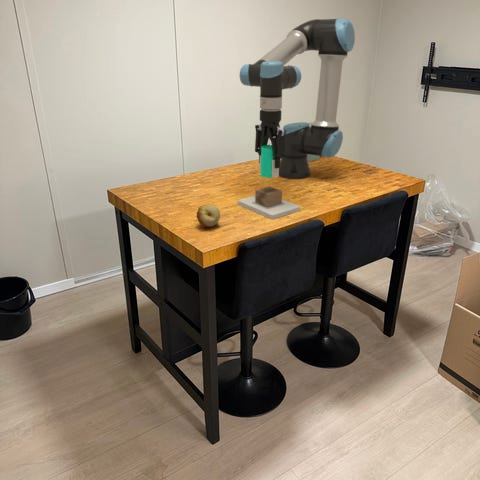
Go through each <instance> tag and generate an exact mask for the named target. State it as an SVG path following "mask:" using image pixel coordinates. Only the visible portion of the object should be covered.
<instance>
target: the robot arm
mask: <svg viewBox="0 0 480 480" xmlns="http://www.w3.org/2000/svg"><path fill="white" fill-rule="evenodd" d="M355 35H356V34H355V29H354V25H353V24H352V22H351V21H350V20H348V19H343V18H332V19H331V18H326V19H318V18H317V19H309V20H307V21H305V22H303V23H301V24H299V25H298V26H296V27H294V28H293V29H292V30H291V31H289V32H288V33H287V35H286V38H284V39H283V40H282V41H281V42H279V43H278V44H277V45H276V46H275V47H273V48H272V49H271V50H270V51H268V52H267V53H266V54H265V55H263V56H262V57H261V58H260V59H258V60H257V61H256V62H254V63H253V64H251V63H248V64H247V63H246V64H243V65H242V66H241V67H240V70H239V80H240V82H241V84H242V85H243V86H247V87H257V88H259V90H260V91H259V92H260V94H259V109H260V110H259V121H260V122H261V123H260V124H255V125H254V128H255V142H254V143H255V144H254V152H255V153H258V164H259V174H261V147H262V146H265V145H269V141H270V145H272V150H273V156H274V158H272V177H273V178H276V177H277V178H278V177H281V178H283V179H290V180H291V179H292V180H293V179H294V180H295V179H296V180H298V179H306V178H308V177H310V176H311V168H310V166H309V165H310V164H309V162H308V160H307V154H310V155H317V156H320V157H322V158H333V157H335V156H336V155H337V154H338V152H339V151H340V149H341V147H342V143H343V138H344V137H343V132H342V131H341V129H340V128H339V127H340V125H339V123H337V115H338V114H337V113H338V104H339V96H340V90H341V89H340V87H341V81H342V80H341V79H342V70H343V63H344V62H343V61H344V60H345V59H346V58H348V53H349V52H351V51H352V50H353V49H354V46H355V41H356V40H355V38H356V37H355ZM307 51H316V52H317V51H318V54H317V56H318V57H319V58H320V60H321V61H320V71H319V72H320V73H319V80H318V90H317V91H318V92H317V101H316V102H317V103H316V110H315V111H316V112H315V119H314V121H313V122H312V124H311V127H309V123H310V122H306V121H305V122H303V121H302V122H292V123H288V124H285V125H283V127H282V128H281V125H280V122H281V121H282V108H283V107H282V106H283V105H282V104H283V90H287V89H294V88H295V87H297V86H298V85H299V84H300V83H301V80H302V72H301V70H300V68H298V67H297V66H296V65H286V64H288V63H289V62H290V61H291V60H293V58H295V57H296V56H297V55H301V54H303V53H304V52H307ZM339 129H340V130H339Z"/></svg>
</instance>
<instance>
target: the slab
mask: <svg viewBox="0 0 480 480" xmlns="http://www.w3.org/2000/svg"><path fill="white" fill-rule="evenodd" d="M236 202H237V204H236V205H239V207H242V208H245V209H248V210H250V211H252V212H254V213H256V214H258V215H261V216H264V217H266V218H268V219H270V220H275V219H280V218H282V217H285V216H288V215H291V214H294V213H297V212H298V213H299V212H300V211H301V209H302V208H301V206H300V205H298V204H295V203H292V202H289V201H287V200H285V199H282V204H279V205H275V206H272V207H269V208H267V207H264V206H262V205H260V204H257V203H255V195H252V196H248V197H246V198H241V199H238V200H237V201H236Z"/></svg>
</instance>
